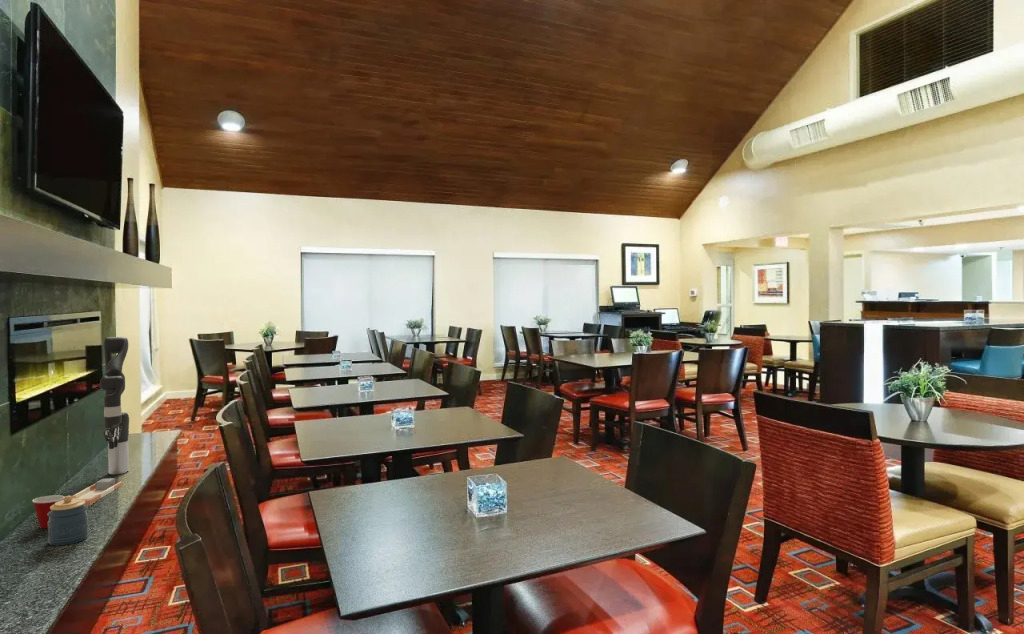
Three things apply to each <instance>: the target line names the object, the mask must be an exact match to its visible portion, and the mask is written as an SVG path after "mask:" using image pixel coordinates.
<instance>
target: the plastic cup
mask: <svg viewBox="0 0 1024 634" xmlns="http://www.w3.org/2000/svg"><path fill="white" fill-rule="evenodd" d="M65 497H66V496H64V495H57V494H54V495H45V496H40V497H36V498H33V499H32V500H31V501H32V503H33V505H34V510H35V513H36V518H37V521H38V525H39V528H40V527H41V528H40V529H48V523H47V522H48V521H49V516H48V515H47V514H48V512H49V511H51V509H50V507H51V506H52V505H54V504H55V503H56V502H58V501H61V500H64V498H65Z"/></svg>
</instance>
